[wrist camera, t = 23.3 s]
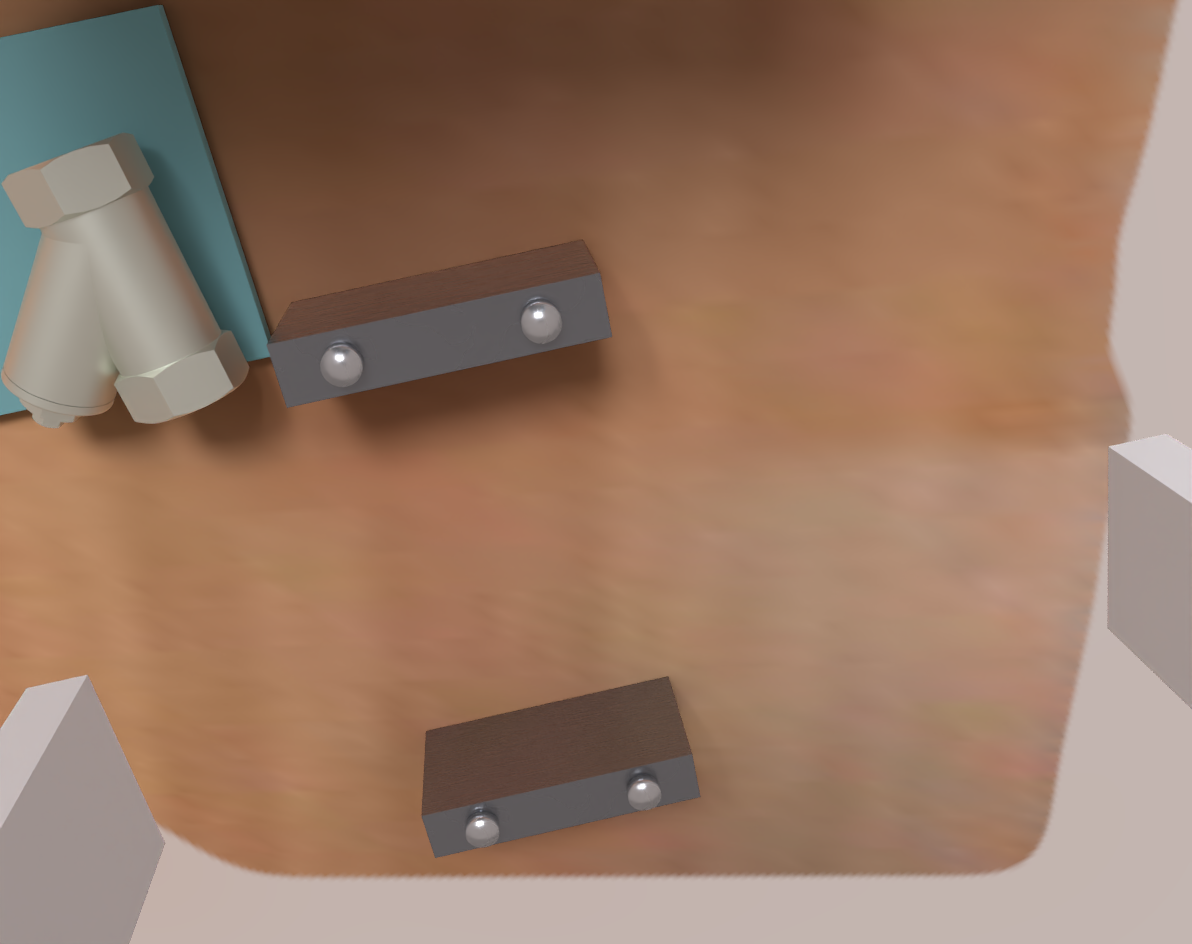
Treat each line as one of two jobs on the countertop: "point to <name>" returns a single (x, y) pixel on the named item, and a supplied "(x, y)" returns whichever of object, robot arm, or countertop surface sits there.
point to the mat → (101, 110)
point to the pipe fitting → (110, 297)
